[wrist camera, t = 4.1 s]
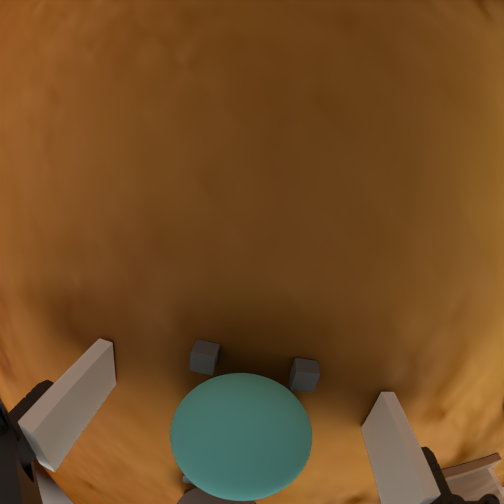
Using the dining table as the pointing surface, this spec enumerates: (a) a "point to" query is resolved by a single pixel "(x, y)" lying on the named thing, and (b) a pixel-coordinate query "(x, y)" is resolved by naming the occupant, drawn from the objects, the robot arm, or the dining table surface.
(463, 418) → the dining table surface
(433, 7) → the dining table surface
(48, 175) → the dining table surface
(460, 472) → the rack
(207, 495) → the ball charcoal
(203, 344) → the small grey cubes
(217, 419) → the ball teal
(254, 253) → the dining table surface
